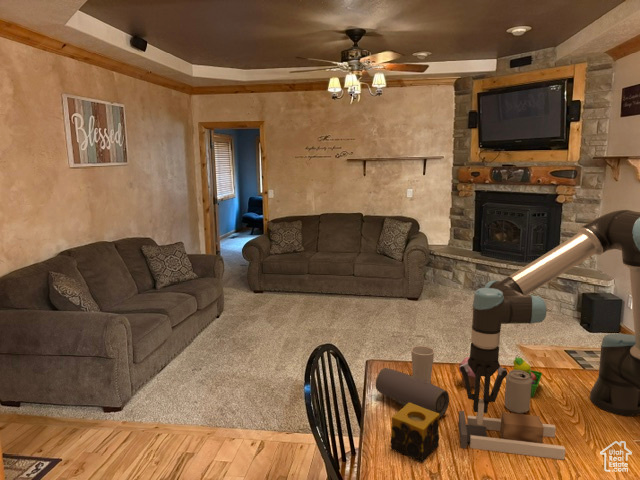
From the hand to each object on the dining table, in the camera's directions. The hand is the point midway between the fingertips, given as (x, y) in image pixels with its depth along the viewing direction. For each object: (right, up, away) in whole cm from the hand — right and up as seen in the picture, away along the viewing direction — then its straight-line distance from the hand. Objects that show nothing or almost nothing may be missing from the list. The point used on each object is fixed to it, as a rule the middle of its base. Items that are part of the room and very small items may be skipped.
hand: (479, 422), depth 137 cm
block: (+11, -5, -2) cm, 12 cm away
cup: (-9, +1, +34) cm, 36 cm away
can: (+17, -2, +16) cm, 24 cm away
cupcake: (+8, +1, +32) cm, 32 cm away
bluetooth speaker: (-16, -2, +18) cm, 24 cm away
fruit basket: (+25, 0, +29) cm, 38 cm away
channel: (+9, -5, -1) cm, 10 cm away
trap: (-1, -5, +1) cm, 5 cm away
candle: (-19, -6, -4) cm, 21 cm away
